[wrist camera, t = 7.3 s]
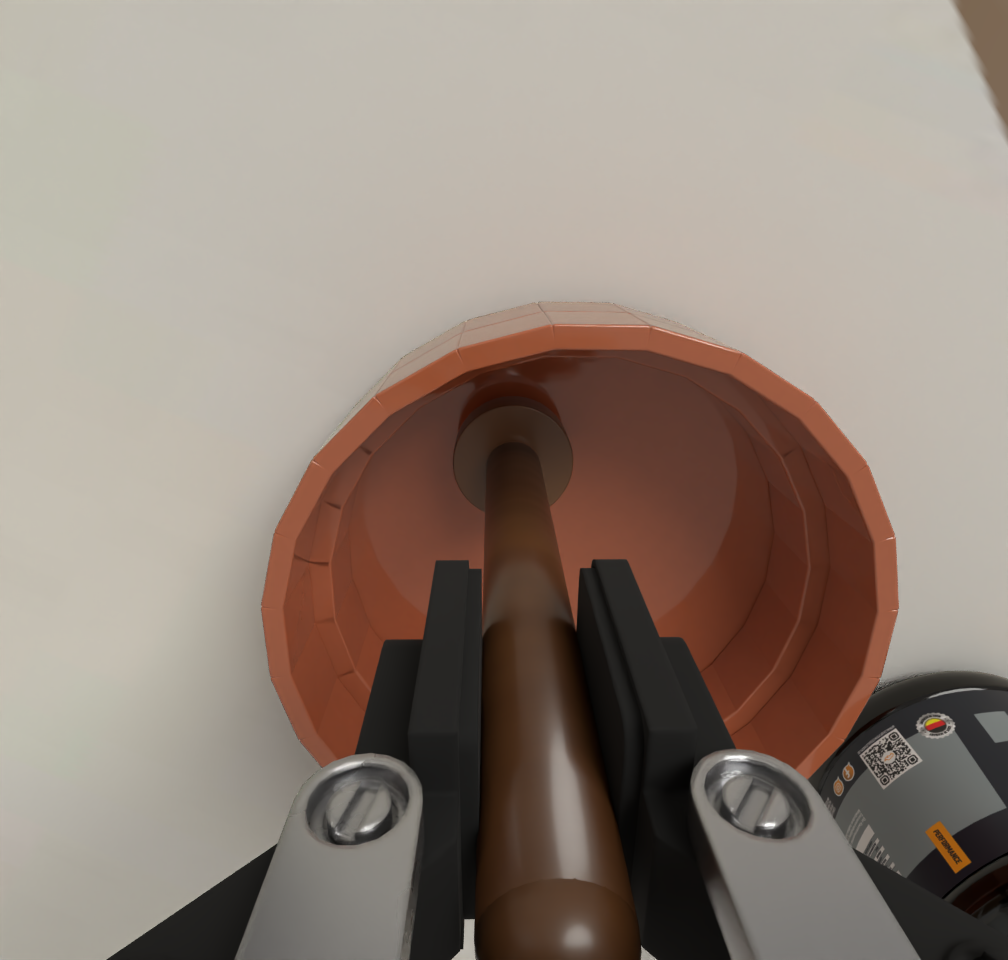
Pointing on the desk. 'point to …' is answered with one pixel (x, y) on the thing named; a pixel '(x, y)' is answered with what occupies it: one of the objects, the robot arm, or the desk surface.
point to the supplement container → (930, 787)
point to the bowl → (600, 521)
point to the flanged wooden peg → (536, 713)
